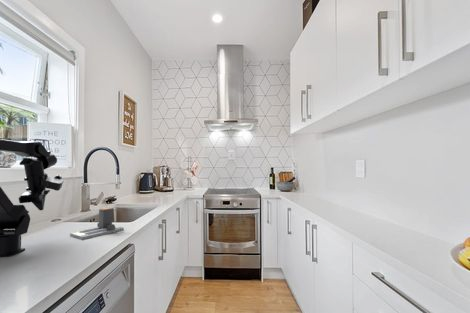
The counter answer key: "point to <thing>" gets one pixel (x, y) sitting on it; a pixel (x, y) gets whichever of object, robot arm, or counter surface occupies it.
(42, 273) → the counter surface
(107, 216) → the handle
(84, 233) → the breaker panel
